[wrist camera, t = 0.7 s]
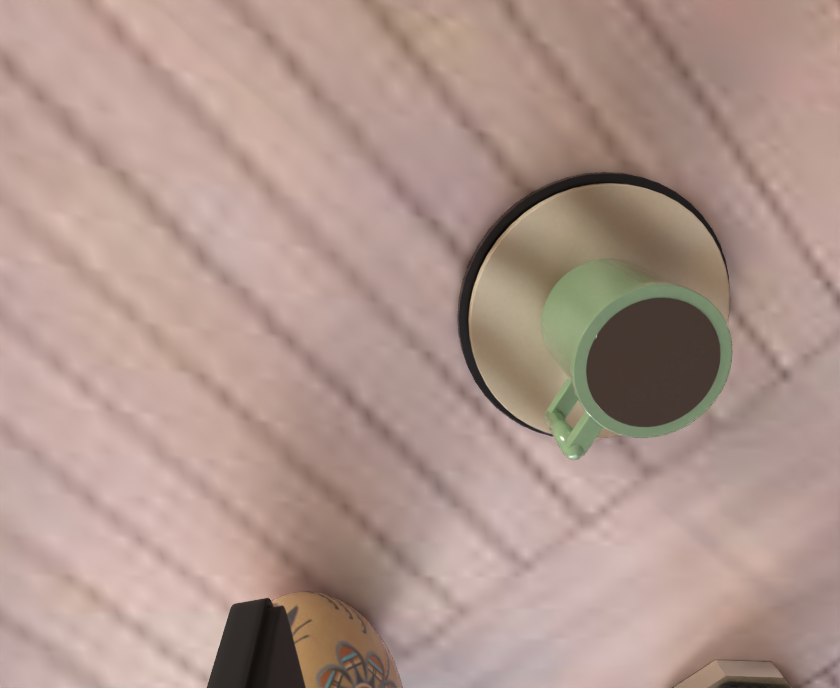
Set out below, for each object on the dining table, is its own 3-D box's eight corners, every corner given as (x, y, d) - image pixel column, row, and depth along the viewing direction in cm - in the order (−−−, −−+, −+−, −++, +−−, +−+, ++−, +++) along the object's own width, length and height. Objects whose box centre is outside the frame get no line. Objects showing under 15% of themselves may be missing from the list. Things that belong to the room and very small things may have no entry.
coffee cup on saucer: (561, 130, 37) (614, 135, 30) (775, 265, 41) (874, 302, 33) (420, 366, 41) (434, 426, 33) (628, 472, 44) (685, 550, 36)
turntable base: (406, 266, 40) (407, 268, 39) (660, 116, 38) (664, 116, 38) (534, 479, 45) (536, 484, 44) (763, 353, 43) (769, 356, 43)
